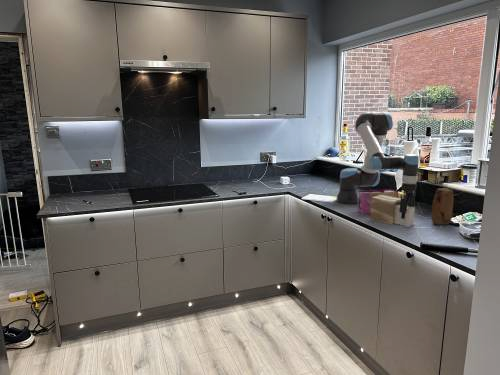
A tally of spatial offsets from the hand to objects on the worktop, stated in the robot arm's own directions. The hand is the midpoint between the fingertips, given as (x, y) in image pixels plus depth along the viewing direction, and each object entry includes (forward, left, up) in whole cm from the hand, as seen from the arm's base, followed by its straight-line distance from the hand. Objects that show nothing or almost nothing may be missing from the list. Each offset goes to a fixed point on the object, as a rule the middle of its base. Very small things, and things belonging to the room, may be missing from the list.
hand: (405, 222), depth 211 cm
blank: (0, -6, -1) cm, 6 cm away
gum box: (-13, -25, -1) cm, 28 cm away
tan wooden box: (0, -12, -1) cm, 12 cm away
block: (-16, +13, -1) cm, 21 cm away
